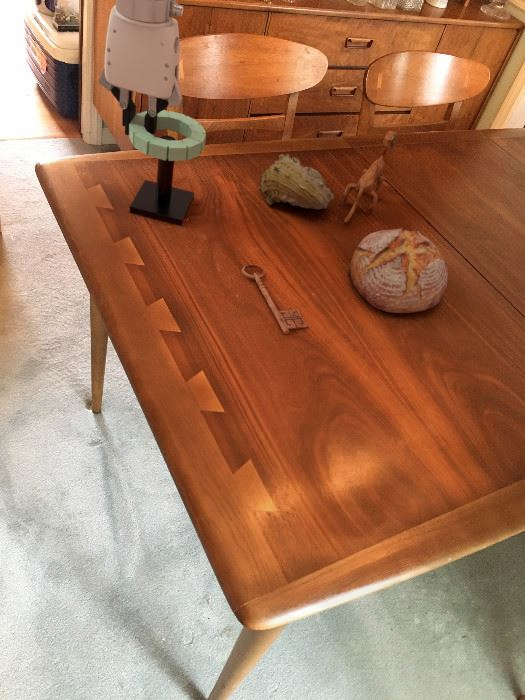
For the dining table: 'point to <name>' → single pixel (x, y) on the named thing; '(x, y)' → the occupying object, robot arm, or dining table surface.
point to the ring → (168, 148)
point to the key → (276, 313)
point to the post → (162, 196)
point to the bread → (399, 271)
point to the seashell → (294, 184)
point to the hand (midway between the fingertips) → (139, 132)
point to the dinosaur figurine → (371, 177)
